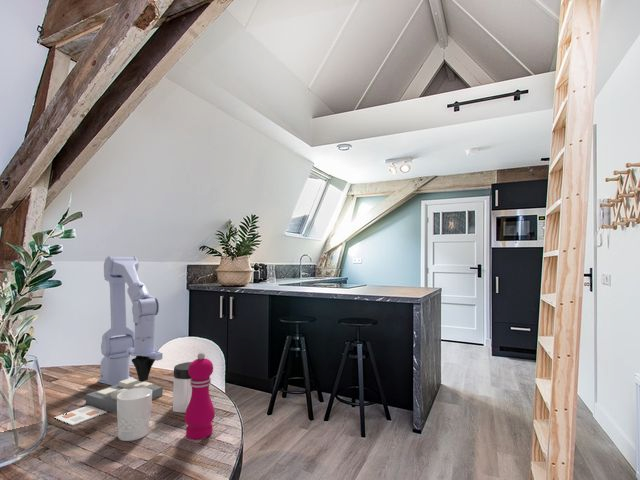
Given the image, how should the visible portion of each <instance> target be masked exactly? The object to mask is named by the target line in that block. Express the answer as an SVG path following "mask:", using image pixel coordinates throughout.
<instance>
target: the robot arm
mask: <svg viewBox="0 0 640 480" xmlns="http://www.w3.org/2000/svg"><path fill="white" fill-rule="evenodd" d="M139 265H140V264H139V259H138V258H137V256H110V255H107V257H106V258H105V260H104V261H103V276H104V280H105V281H106V282H108V283H109V302H110V305H109V306H110V328H109V329H108V330H106V332H104V333H103V335H102V336H101V344H100V352H101V354H102V356H103V357H102V358H101V360H100V371H99V379H97V383H98V382H99V383H102V384H105V385H108V386H114V385H117V384H119V382H120V381H123V380H126V379H129V378H133V379H136V378H135V377H132V376H130V365H131V364H130V362H132V364H133V365H134V368H135V371H136V373H137V374H136V375H137V378H138V379H137V380H138V381H140V382H147V381H148V379H149V376H150V372H151V370H152V367H153V365H154V363H155V361H157V362H159V361H161V360H163V352H160V351H158V350H157V349H155V339H156V338H155V335H156V334H155V331H156V329H155V327H156V316H157V315H158V314H159V311H160V310H159V309H160V304H159V301H158V299H157V297H155V296H153V295H151V293H150V292H149V289H148V287H147V286H146V284H145V283H144V282H142V281H141V280H140V278H139V274H138V270H139ZM126 284H127V286H128V288H127V294H128V297H129V299H130V301H131V303H132V306H131V313H132V317H133V319H132V321H133V323H134V330H133V329H131V328H129V327H128V326H127V311H126V310H127V309H126V308H127V307H126V306H127V305H126V304H127V303H126V302H127V301H126ZM131 357H134V358H131ZM130 358H131V359H130ZM130 360H131V361H130Z"/></svg>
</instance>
